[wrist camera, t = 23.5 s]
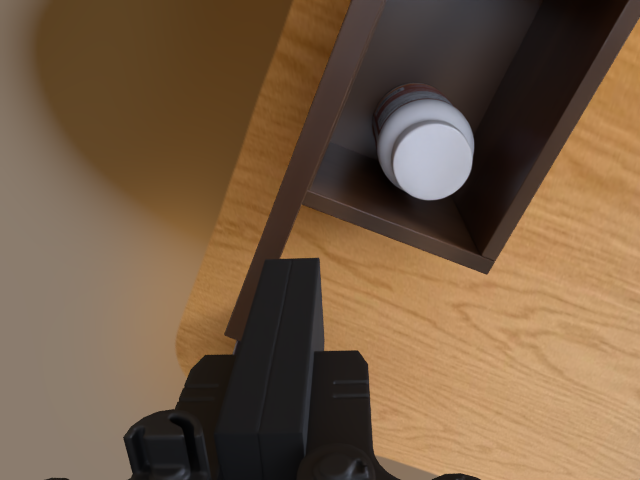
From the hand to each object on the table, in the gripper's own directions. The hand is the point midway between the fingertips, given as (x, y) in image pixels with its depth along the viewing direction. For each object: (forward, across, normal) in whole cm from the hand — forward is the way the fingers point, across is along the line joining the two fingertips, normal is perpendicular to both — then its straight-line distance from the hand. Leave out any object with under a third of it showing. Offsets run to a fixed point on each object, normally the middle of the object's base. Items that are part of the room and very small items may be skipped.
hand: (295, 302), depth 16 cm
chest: (+30, +8, +2) cm, 31 cm away
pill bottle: (+30, +6, -2) cm, 30 cm away
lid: (+9, +2, +5) cm, 11 cm away
